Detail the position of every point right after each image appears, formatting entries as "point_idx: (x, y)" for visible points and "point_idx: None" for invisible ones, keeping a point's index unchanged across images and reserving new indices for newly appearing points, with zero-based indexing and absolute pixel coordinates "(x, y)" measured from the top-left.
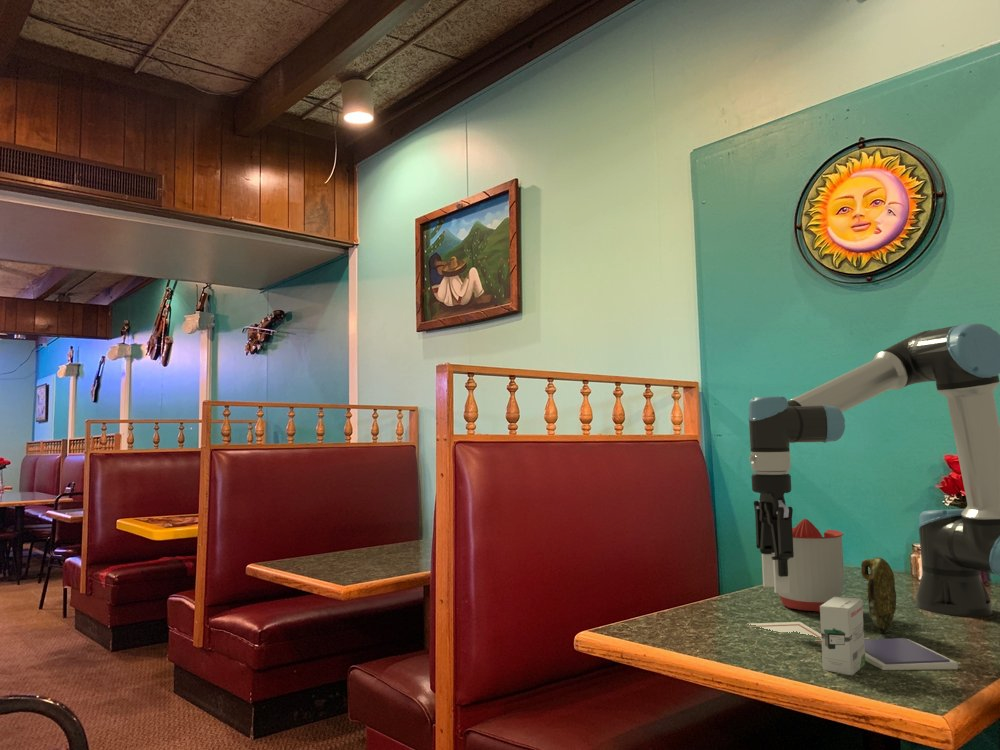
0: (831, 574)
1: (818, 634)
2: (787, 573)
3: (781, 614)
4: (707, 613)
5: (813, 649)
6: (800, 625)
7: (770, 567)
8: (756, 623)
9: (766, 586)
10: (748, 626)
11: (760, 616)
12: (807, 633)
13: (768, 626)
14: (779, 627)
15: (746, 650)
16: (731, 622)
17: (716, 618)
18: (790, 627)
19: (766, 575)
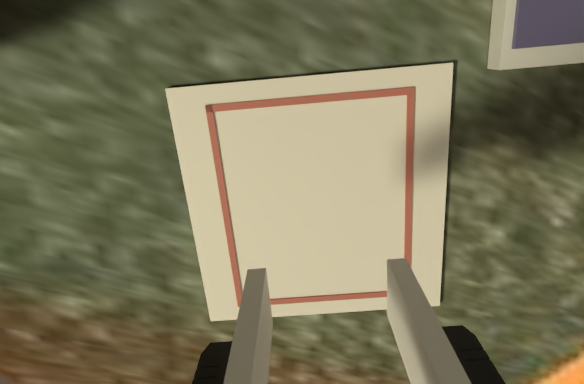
0: None
1: (335, 84)
2: (475, 340)
3: (41, 111)
4: (68, 331)
5: (472, 155)
6: (222, 107)
7: (262, 365)
8: (196, 237)
9: (271, 315)
10: (238, 270)
11: (83, 192)
12: (319, 117)
13: (232, 212)
14: (243, 183)
15: (446, 323)
16: (169, 293)
17: (126, 321)
18: (244, 148)
19: (267, 351)
